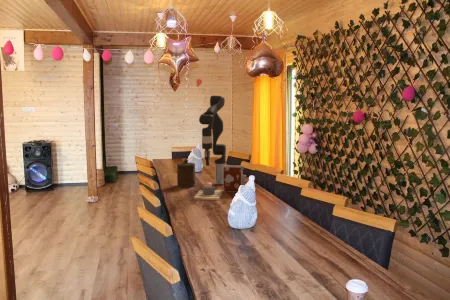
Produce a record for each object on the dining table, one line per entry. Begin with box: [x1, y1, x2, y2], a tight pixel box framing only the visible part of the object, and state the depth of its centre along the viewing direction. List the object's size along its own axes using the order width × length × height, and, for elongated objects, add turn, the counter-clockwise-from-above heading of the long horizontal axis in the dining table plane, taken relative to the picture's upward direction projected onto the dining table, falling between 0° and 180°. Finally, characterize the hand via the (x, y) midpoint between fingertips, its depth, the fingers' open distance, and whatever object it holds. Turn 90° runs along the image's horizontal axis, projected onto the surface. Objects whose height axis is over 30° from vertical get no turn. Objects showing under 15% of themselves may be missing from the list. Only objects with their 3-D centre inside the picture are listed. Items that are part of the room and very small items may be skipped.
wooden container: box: [176, 158, 196, 188], centre depth 332 cm, size 15×15×22 cm
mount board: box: [193, 189, 224, 201], centre depth 297 cm, size 24×18×2 cm
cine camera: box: [222, 164, 249, 193], centre depth 309 cm, size 9×19×20 cm, turn 78°
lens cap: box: [205, 181, 213, 188], centre depth 297 cm, size 4×4×8 cm
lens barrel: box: [202, 185, 216, 195], centre depth 297 cm, size 8×8×5 cm
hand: (207, 165), depth 297 cm, fingers closed
